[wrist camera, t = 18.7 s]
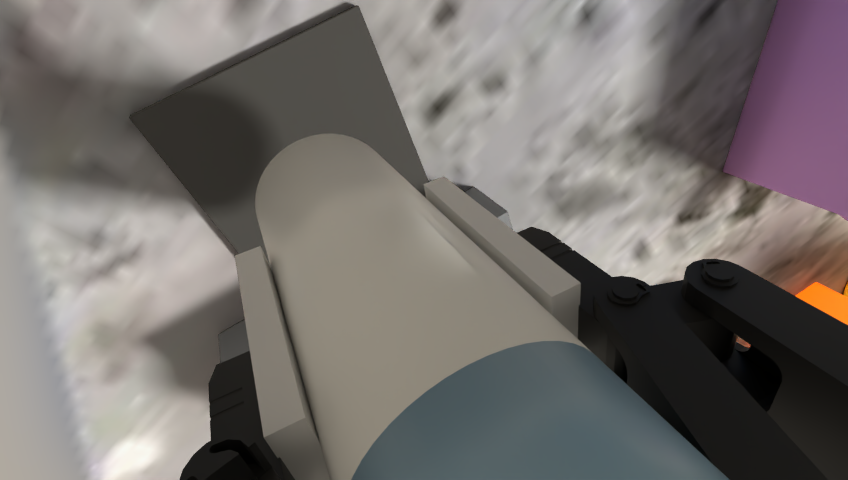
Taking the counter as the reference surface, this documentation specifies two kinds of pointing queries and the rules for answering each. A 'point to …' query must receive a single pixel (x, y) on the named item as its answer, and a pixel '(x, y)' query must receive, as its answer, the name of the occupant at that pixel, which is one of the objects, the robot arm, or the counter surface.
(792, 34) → the teapot
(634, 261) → the counter surface
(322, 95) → the mat
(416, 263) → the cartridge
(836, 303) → the orange juice
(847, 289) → the stacking cups
